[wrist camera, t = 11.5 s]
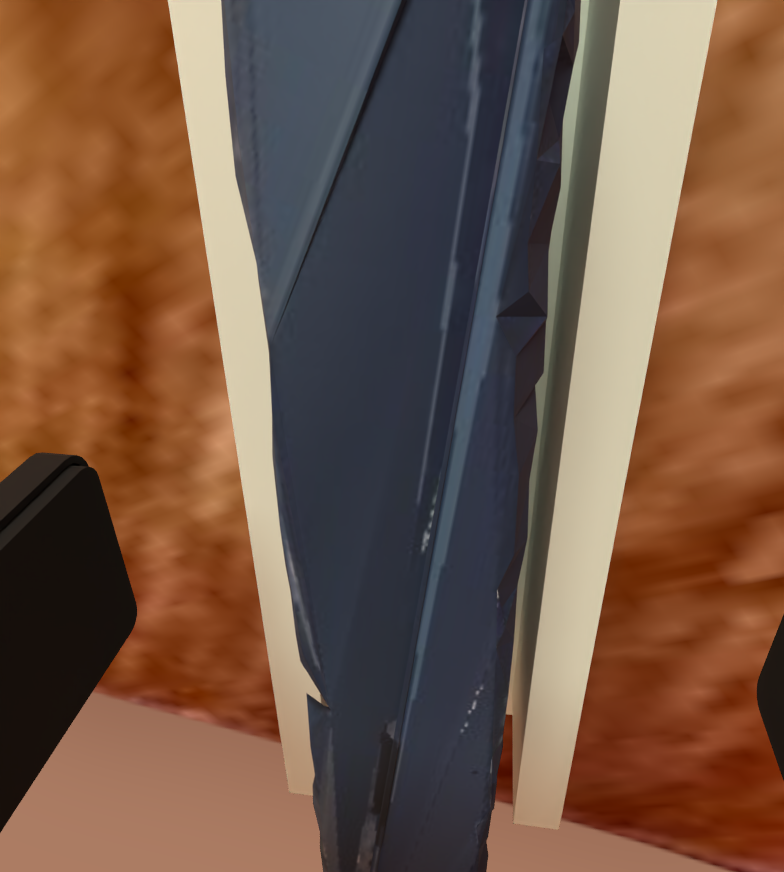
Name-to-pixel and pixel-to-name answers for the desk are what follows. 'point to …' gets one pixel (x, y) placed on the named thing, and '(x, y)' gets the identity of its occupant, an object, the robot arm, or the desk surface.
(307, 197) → the vhs cassette tape
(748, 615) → the desk surface
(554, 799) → the rack
